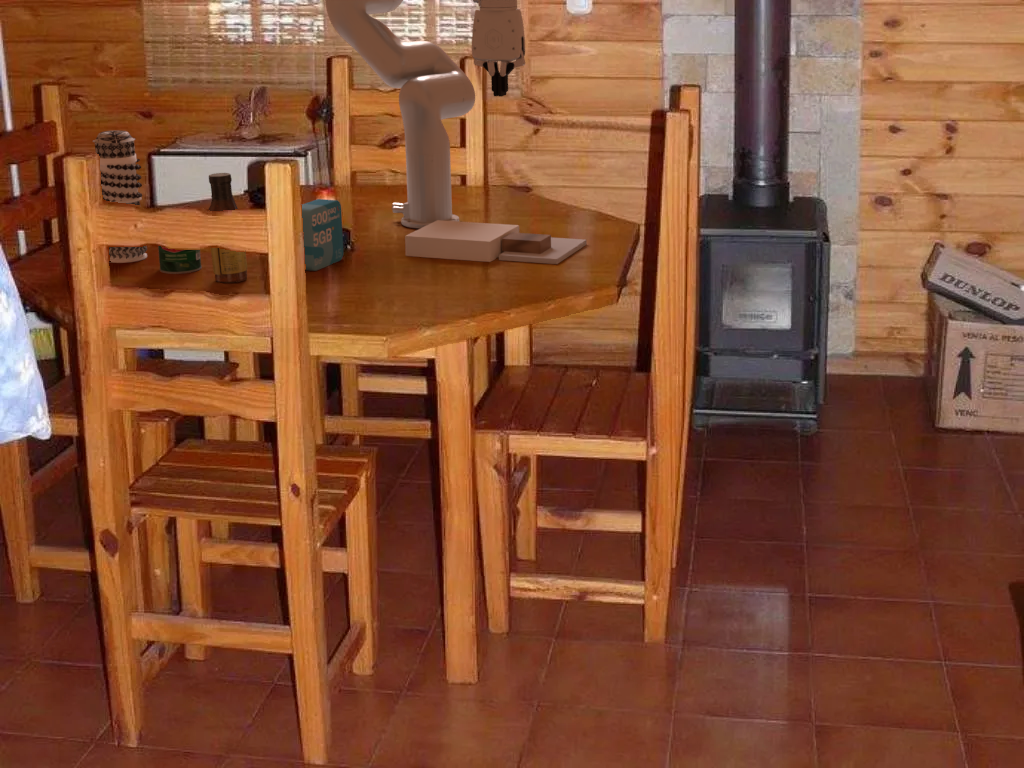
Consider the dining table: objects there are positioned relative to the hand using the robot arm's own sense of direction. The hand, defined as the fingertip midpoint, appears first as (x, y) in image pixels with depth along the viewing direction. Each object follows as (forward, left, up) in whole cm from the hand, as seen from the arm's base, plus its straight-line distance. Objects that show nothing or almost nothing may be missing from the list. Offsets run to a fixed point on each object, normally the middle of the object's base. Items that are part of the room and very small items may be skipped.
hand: (500, 95), depth 300 cm
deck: (-3, -14, -29) cm, 32 cm away
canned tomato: (-49, -45, -29) cm, 73 cm away
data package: (-25, -34, -29) cm, 51 cm away
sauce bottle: (-35, -50, -29) cm, 68 cm away
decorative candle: (-65, -40, -29) cm, 82 cm away
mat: (+13, -11, -29) cm, 34 cm away
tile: (+11, -14, -28) cm, 33 cm away
